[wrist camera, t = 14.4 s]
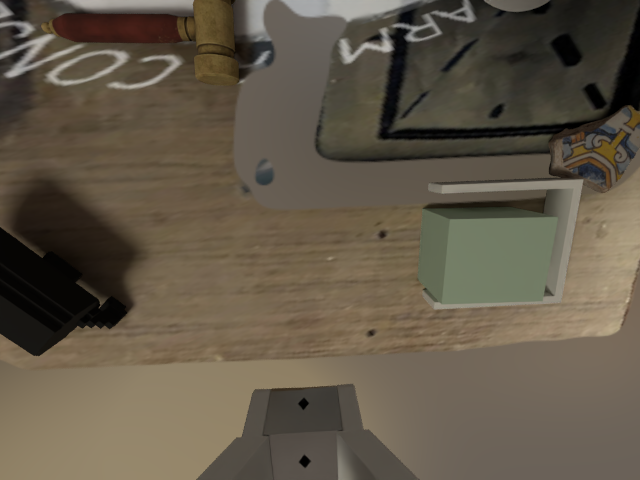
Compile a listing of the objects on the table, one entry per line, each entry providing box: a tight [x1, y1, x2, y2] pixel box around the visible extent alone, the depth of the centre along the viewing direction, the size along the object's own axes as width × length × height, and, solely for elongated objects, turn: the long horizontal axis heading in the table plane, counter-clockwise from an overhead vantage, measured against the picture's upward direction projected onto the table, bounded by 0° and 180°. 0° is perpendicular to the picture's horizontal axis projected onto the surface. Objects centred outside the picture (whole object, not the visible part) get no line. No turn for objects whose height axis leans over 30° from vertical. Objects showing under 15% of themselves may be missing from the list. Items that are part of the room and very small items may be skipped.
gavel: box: [41, 0, 239, 85], centre depth 32 cm, size 21×5×10 cm
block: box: [418, 207, 558, 304], centre depth 37 cm, size 10×12×8 cm
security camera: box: [0, 227, 127, 356], centre depth 35 cm, size 7×18×10 cm, turn 45°
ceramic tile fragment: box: [549, 105, 640, 193], centre depth 37 cm, size 12×3×10 cm
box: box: [423, 178, 584, 309], centre depth 39 cm, size 16×17×4 cm
